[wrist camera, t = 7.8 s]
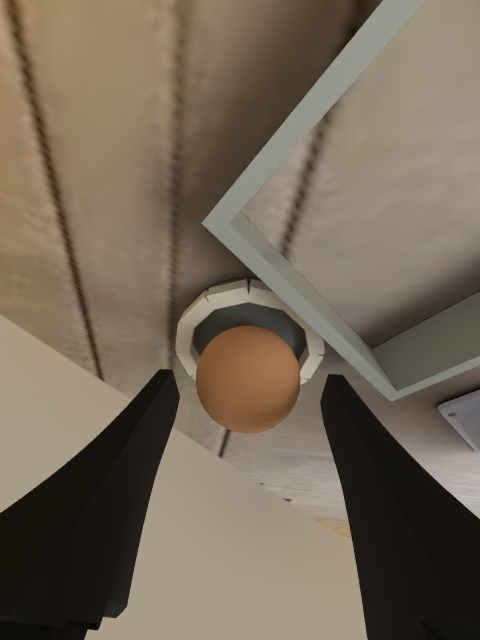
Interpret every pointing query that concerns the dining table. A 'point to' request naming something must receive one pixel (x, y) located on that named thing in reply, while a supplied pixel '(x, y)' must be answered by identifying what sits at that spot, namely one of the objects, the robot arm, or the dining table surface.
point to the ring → (245, 322)
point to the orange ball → (248, 379)
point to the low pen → (281, 277)
